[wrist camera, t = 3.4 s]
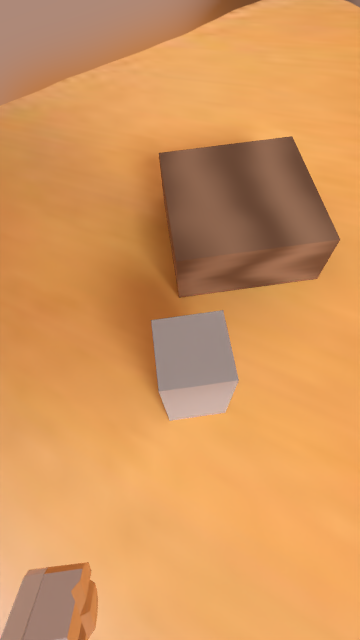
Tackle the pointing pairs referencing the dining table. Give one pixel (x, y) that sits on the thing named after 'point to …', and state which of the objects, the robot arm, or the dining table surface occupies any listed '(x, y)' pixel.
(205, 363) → the slate block
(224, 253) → the walnut slab
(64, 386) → the dining table surface
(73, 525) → the dining table surface
